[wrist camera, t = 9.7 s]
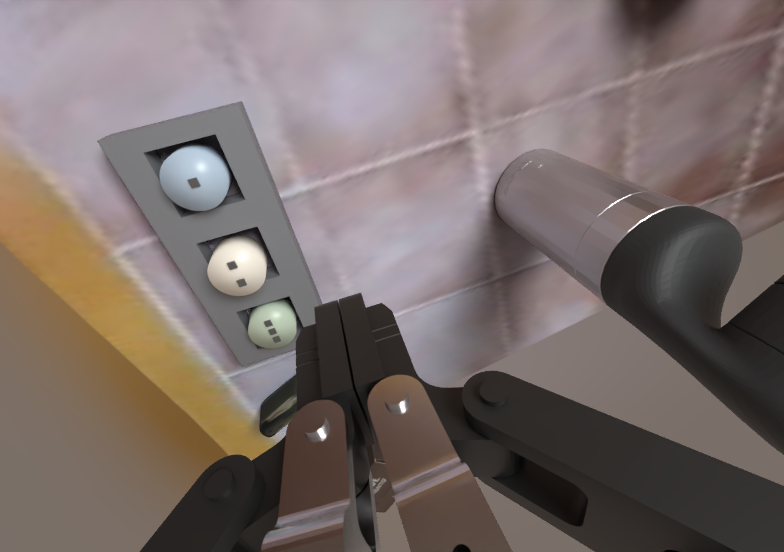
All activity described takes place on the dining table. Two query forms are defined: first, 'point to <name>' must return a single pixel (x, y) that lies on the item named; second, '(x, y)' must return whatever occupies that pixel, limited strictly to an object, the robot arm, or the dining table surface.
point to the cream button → (238, 265)
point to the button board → (219, 220)
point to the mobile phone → (278, 408)
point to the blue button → (196, 177)
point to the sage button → (273, 324)
